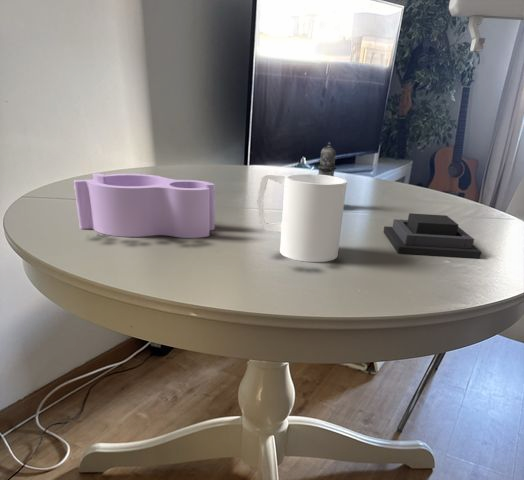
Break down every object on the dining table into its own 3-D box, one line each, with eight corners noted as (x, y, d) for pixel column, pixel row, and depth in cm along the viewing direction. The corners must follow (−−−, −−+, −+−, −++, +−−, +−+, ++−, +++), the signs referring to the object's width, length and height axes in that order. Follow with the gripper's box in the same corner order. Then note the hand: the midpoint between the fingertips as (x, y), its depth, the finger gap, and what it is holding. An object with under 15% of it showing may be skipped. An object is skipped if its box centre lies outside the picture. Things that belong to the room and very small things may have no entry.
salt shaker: (315, 201, 100) (321, 139, 94) (341, 206, 97) (349, 142, 92) (303, 206, 95) (308, 141, 90) (330, 211, 93) (337, 144, 87)
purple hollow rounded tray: (219, 223, 80) (220, 180, 77) (202, 243, 69) (202, 194, 66) (105, 213, 82) (100, 171, 79) (70, 232, 71) (64, 183, 68)
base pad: (454, 236, 80) (458, 221, 79) (480, 258, 70) (484, 241, 69) (383, 232, 80) (385, 217, 79) (397, 253, 70) (401, 236, 69)
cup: (263, 238, 73) (266, 169, 68) (341, 248, 70) (350, 177, 66) (246, 253, 66) (249, 177, 61) (332, 265, 64) (342, 186, 59)
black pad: (442, 234, 77) (446, 215, 76) (453, 244, 72) (458, 224, 70) (405, 231, 77) (408, 213, 76) (414, 242, 72) (418, 222, 71)
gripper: (469, -68, 68) (446, 48, 74) (614, -60, 67) (578, 55, 74) (455, -56, 73) (435, 51, 80) (590, -49, 73) (558, 57, 79)
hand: (505, 53), depth 77 cm, fingers open, 8 cm apart
